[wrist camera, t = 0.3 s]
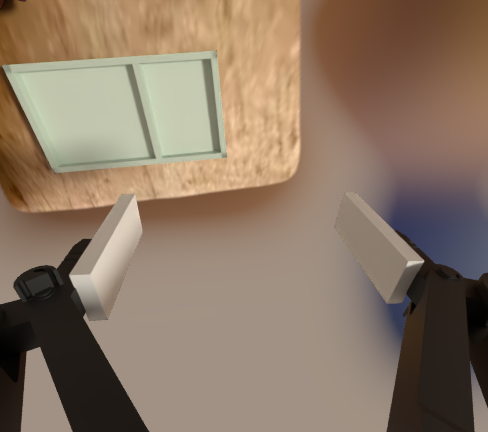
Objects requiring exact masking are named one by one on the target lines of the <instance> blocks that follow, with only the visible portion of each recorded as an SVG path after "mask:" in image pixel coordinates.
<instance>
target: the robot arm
mask: <svg viewBox="0 0 488 432" xmlns="http://www.w3.org/2000/svg"><path fill="white" fill-rule="evenodd" d="M334 227H335V229H336V230H337V232H338V233H339V235H340V236H341V237H342V239H343V241H344V242H345V243H346V245H347V246H348V248H349V249H350V251H351V252H352V254H353V255H354V256H355V258H356V259H357V261H358V262H359V264H360V265H361V267H362V268H363V269H364V271H365V272H366V274H367V275H368V277H369V278H370V280H371V281H372V282H373V284H374V285H375V287H376V288H377V290H378V291H379V293H380V294H381V295H382V297H383V298H384V300H385V301H386V303H402V301H403V299H404V297H405V295H406V294H407V295H408V297H409V298H410V299H411V302H410V303H409V305H408V307H407V309H406V311H405V312H404V314H403V316H406V315H407V316H406V322H405V328H404V334H403V340H402V345H401V351H400V358H399V363H398V369H397V375H396V380H395V386H394V392H393V398H392V404H391V409H390V415H389V421H388V427H387V432H475V431H474V417H473V402H472V388H471V372H470V361H471V364H472V367H473V369H474V372H475V374H476V377H477V380H478V383H479V385H480V388H481V391H482V394H483V396H484V399H485V402H486V404H487V407H488V273H484V274H483V275H482V276H481V277H480V279H479V280H472V279H467V278H463V276H461V274H460V273H458V272H457V271H456V270H454V269H452V268H450V267H448V266H445V265H441V264H435V263H434V262H433V261H432V260H431V259H430V258H429V257H428V256H427V255H426V254H425V253H424V252H422V251H421V250H420V249H419V248H417V246H416V245H415V244H414V243H412V241H411V240H410V239H409V238H408V237H407V236H405V235H404V234H402V233H400V232H399V231H397V230H393V229H392V228H391V227H390V226H389V225H387V223H386V222H385V221H384V220H383V219H382V218H381V217H379V215H377V213H375V212H374V211H373V210H372V209H371V208H370V207H369V206H368V205H367V204H366V203H365V202H364V201H363V200H362V199H361V198H360V197H359V196H358V195H357V194H356V193H355V192H344V193H343V197H342V200H341V204H340V208H339V211H338V215H337V218H336V222H335V226H334ZM142 232H143V231H142V226H141V221H140V217H139V212H138V207H137V202H136V197H135V194H121V196H120V197H119V199H118V201H117V202H116V204H115V205H114V207H113V208H112V210H111V211H110V213H109V214H108V216H107V217H106V219H105V221H104V222H103V224H102V225H101V227H100V228H99V230H98V231H97V233H96V234H95V236H94V237H93V239H82V240H81V241H80V242H78V243H77V244H75V245H74V246H73V247H72V249H71V250H70V252H69V253H68V255H67V256H66V257H65V259H64V261H62V263H61V264H60V265H59V267H58V268H57V269H56V268H55V267H53V266H48V265H45V266H38V267H35V268H32V269H30V270H28V271H26V272H24V273H23V274H21V275H20V276H19V277H17V279H16V280H15V282H14V289H15V290H16V292H17V294H18V295H19V297H20V298H21V299H20V300H16V301H12V302H8V303H4V304H0V432H21V419H22V406H23V392H24V379H25V366H26V352H27V351H29V350H32V349H35V348H38V347H40V348H41V350H42V353H43V356H44V358H45V361H46V363H47V366H48V369H49V371H50V374H51V376H52V379H53V382H54V384H55V387H56V390H57V392H58V395H59V397H60V400H61V403H62V405H63V408H64V410H65V413H66V416H67V418H68V421H69V423H70V426H71V429H72V431H73V432H149V431H148V429H147V427H146V426H145V424H144V422H143V421H142V419H141V417H140V415H139V414H138V412H137V410H136V409H135V407H134V405H133V403H132V402H131V400H130V398H129V396H128V395H127V393H126V391H125V389H124V388H123V386H122V384H121V382H120V381H119V379H118V377H117V376H116V374H115V372H114V370H113V369H112V367H111V365H110V364H109V362H108V360H107V358H106V357H105V355H104V353H103V351H102V350H101V348H100V346H99V344H98V343H97V341H96V340H95V338H94V336H93V334H92V332H91V331H90V329H89V327H88V325H87V324H86V322H85V320H84V319H83V316H84V314H85V313H86V315H87V317H88V319H89V321H96V320H108V318H109V315H110V313H111V310H112V308H113V305H114V303H115V300H116V297H117V295H118V292H119V290H120V287H121V285H122V282H123V280H124V277H125V275H126V272H127V270H128V267H129V265H130V262H131V260H132V257H133V255H134V252H135V250H136V247H137V244H138V242H139V240H140V237H141V235H142Z"/></svg>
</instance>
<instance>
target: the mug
mask: <svg viewBox="0 0 488 432" xmlns="http://www.w3.org/2000/svg"><path fill="white" fill-rule="evenodd" d="M19 1H23V2H25V1H26V0H19ZM3 2H4V0H0V8H1V7H2V5H3Z"/></svg>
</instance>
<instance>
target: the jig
mask: <svg viewBox="0 0 488 432" xmlns="http://www.w3.org/2000/svg"><path fill="white" fill-rule="evenodd" d="M2 67H3V69H4V71H5V73H6V75H7V77H8V79H9V81H10V83H11V85H12V87H13V89H14V92H15V94H16V96H17V98H18V100H19V102H20V104H21V106H22V108H23V110H24V112H25V114H26V116H27V118H28V120H29V122H30V124H31V126H32V129H33V131H34V133H35V135H36V137H37V139H38V141H39V143H40V145H41V147H42V149H43V151H44V153H45V155H46V157H47V159H48V161H49V164H50V166H51V168H52V170H53V172H54V173H63V172H74V171H85V170H96V169H107V168H118V167H129V166H140V165H151V164H162V163H173V162H184V161H195V160H206V159H217V158H227V153H226V143H225V132H224V122H223V112H222V101H221V91H220V81H219V71H218V60H217V51H204V52H190V53H175V54H161V55H146V56H131V57H117V58H102V59H88V60H73V61H58V62H44V63H29V64H15V65H2Z"/></svg>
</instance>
